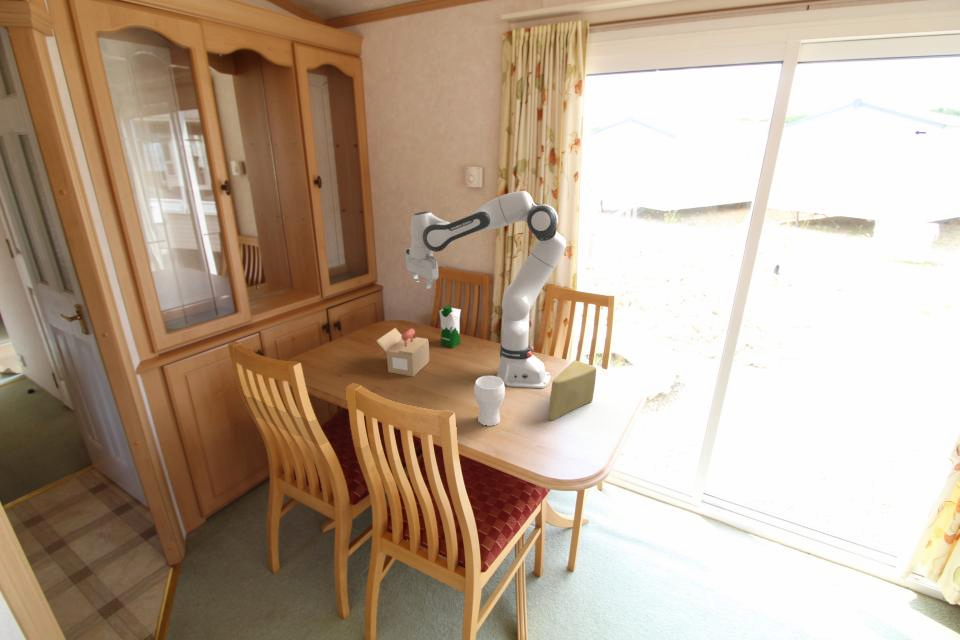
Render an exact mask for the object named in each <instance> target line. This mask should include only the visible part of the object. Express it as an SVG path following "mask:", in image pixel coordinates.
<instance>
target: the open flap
mask: <svg viewBox="0 0 960 640" xmlns="http://www.w3.org/2000/svg"><path fill="white" fill-rule="evenodd" d="M402 335H403V334H402V333H400V331H399V330H398V329H397V328H396V327H394V328H393V329H391V330H390V331H388V332H387V333H386V334H384V335H383V336H381V337H379V338H378V339H377V340H376V341H375V342H376V343H377V344H378V345H379V347H381V348H382V350H383V351H384V352H385V353H387V350H389V349H390V348H391V347H393V346H394V345H395V344H396V343H398V342H399V341H400V340H402V338H401V336H402Z"/></svg>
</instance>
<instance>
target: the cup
mask: <svg viewBox="0 0 960 640" xmlns="http://www.w3.org/2000/svg"><path fill="white" fill-rule="evenodd" d="M505 387H506V385H505V384H504V382H503V380H502V379H501V378H499V377H497V375H482V376H480V377H478V378H477V379H476V380H475V383H474V387H473V396H474V398H475V399H474V400H475V401H476V403H477V405H478V410H479V413H478V419H477V422H478V423H479V422H480V423H481V424H480V423H479V424H480V425H482V424H483V426H485V425H487V426H486V427H493V425H494V426H496V424H497V425H498V424H500V422H501V416H500V407H501V405H502V403H503V401H504V398H505V396H506V388H505Z"/></svg>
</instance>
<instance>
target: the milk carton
mask: <svg viewBox="0 0 960 640" xmlns="http://www.w3.org/2000/svg"><path fill="white" fill-rule="evenodd" d="M461 311H462V309H460V308H454V307H452V306H450V305H445V306H443V307H442V309H440V310H438V313H439V317H440V318H439V319H440V346H443V347H446V348H449V349H450V348H451V349H454V348H456V347H457V346H458V345H461V336H460V333H461V331H460V329H461V327H460V317H461Z"/></svg>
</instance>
